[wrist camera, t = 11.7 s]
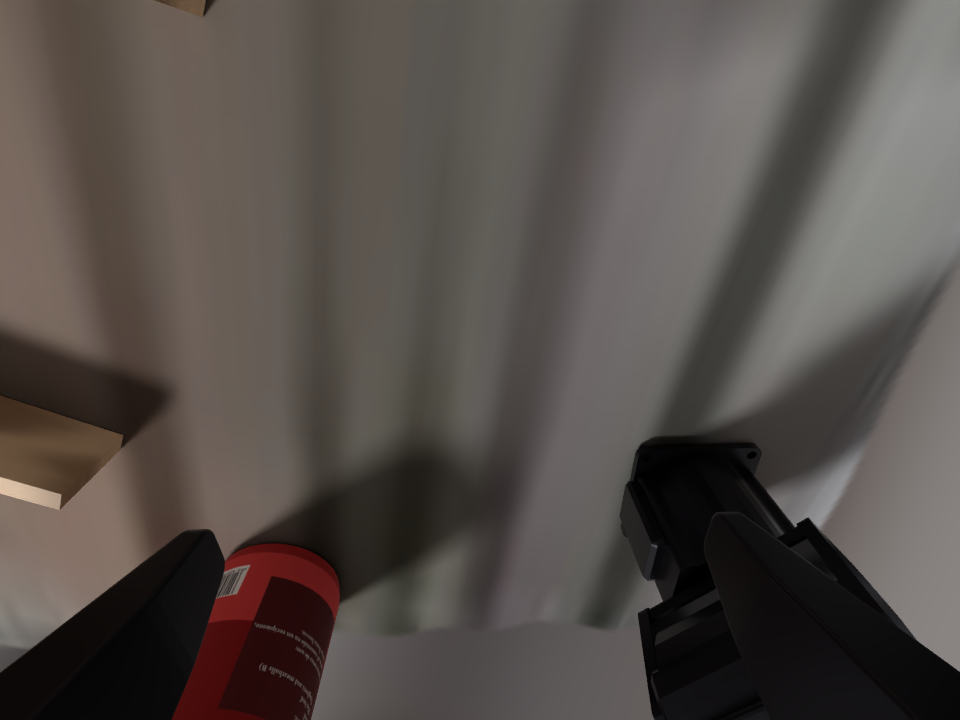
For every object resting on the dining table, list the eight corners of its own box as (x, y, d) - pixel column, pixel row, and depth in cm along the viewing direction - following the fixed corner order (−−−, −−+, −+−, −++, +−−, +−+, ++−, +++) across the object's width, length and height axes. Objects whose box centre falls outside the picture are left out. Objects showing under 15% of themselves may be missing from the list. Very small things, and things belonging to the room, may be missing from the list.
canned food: (208, 606, 30) (84, 847, 20) (226, 524, 26) (87, 769, 16) (326, 629, 31) (265, 863, 22) (358, 556, 28) (301, 795, 18)
